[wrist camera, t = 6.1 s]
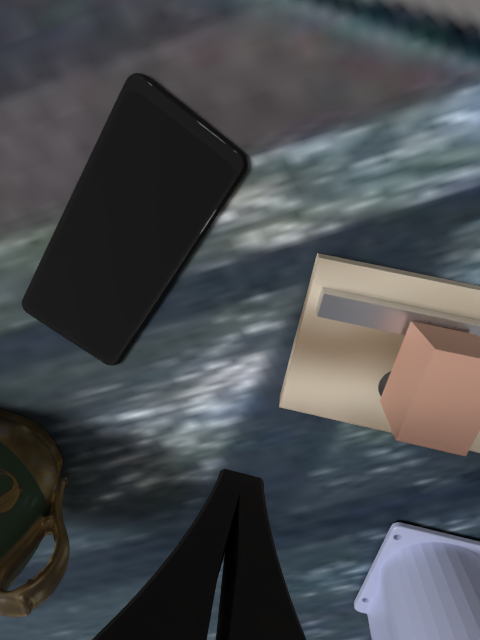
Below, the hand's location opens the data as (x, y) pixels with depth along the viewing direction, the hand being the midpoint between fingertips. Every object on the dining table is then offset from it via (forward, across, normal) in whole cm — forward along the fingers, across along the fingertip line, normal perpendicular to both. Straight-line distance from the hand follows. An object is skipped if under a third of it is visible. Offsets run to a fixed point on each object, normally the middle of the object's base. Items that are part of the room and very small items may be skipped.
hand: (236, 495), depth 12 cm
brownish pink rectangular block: (+9, -8, -2) cm, 12 cm away
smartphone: (+11, +9, -5) cm, 15 cm away
